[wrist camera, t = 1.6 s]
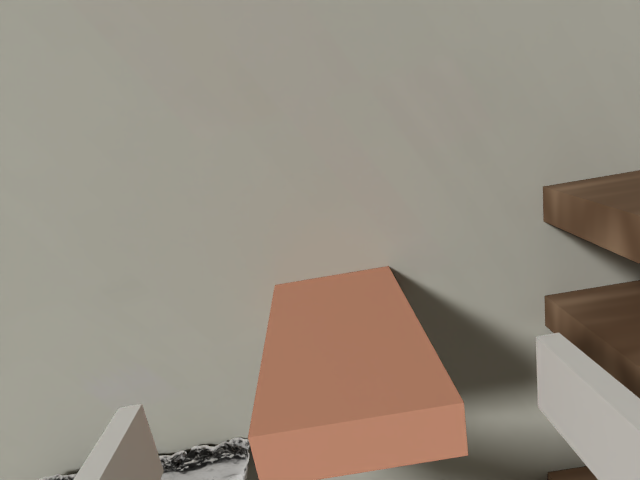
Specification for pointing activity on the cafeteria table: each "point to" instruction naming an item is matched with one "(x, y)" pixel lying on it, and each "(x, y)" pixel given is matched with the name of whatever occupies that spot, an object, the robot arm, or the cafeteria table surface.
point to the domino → (350, 383)
